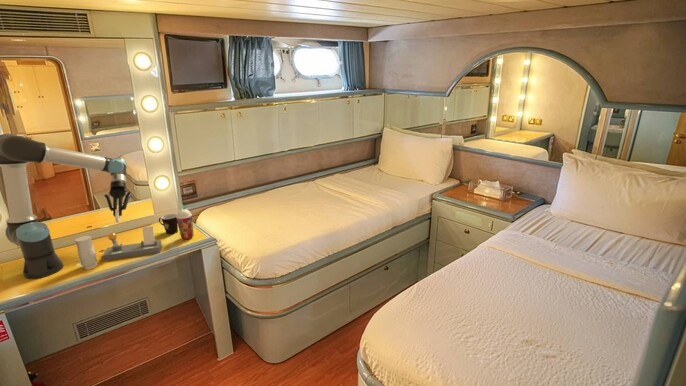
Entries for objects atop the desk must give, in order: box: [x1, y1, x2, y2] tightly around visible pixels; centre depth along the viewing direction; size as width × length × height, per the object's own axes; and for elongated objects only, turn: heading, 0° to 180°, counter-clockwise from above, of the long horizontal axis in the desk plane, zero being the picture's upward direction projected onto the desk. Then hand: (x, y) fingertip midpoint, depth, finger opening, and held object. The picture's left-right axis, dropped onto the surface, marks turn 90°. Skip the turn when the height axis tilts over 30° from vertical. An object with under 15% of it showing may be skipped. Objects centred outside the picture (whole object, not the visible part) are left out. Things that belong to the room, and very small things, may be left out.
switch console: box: [102, 238, 163, 262], centre depth 198 cm, size 26×10×5 cm, turn 109°
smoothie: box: [176, 204, 194, 241], centre depth 213 cm, size 8×8×20 cm
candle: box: [74, 235, 98, 270], centre depth 183 cm, size 7×7×15 cm
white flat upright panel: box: [141, 226, 156, 245], centre depth 201 cm, size 5×1×9 cm, turn 109°
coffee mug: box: [158, 213, 179, 235], centre depth 224 cm, size 12×9×10 cm
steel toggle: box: [107, 232, 120, 250], centre depth 192 cm, size 4×4×11 cm
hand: (117, 221), depth 202 cm, fingers closed
